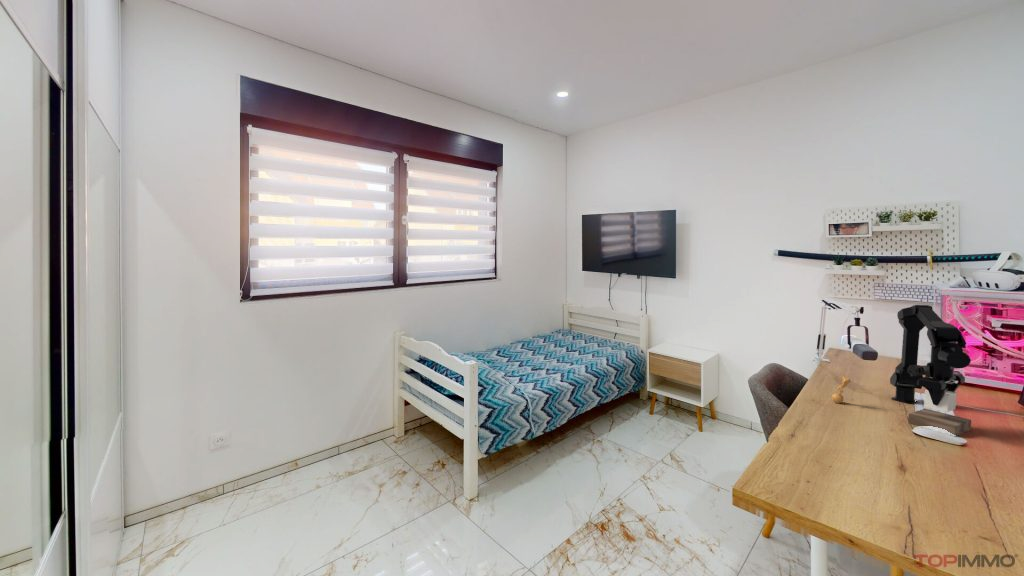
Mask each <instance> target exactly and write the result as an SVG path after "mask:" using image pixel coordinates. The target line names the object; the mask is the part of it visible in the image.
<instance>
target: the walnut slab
mask: <svg viewBox="0 0 1024 576" xmlns="http://www.w3.org/2000/svg"><path fill="white" fill-rule="evenodd" d="M907 418H908V420H907V423H908V424H910V425H913V426H916V427H919V426H933V427H938V428H942V429H945V430H947V431H948V432H950V433H952V434H954V435H957V436H959V435H962V434H964V433H966V432H969V431H971V429H972V420H971V419H969V418H965V417H960V416H956V415H953V414H949V413H946V412H942V411H941V412H940V411H938V410H937V411H936V410H933V409H930V408H922V409H919V410H915V411H913V412H911V413H908V417H907Z"/></svg>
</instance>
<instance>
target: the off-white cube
mask: <svg viewBox="0 0 1024 576" xmlns="http://www.w3.org/2000/svg"><path fill="white" fill-rule="evenodd" d="M923 399H924V401H923V402H924V403H923V407H925V408H928V409H932V410H933V409H934V410H937V411H941V412H944V413H948V412H951V411H954V410H956V406H957V405H956V403H957V392H956V391H955V392H951V391H946V393H945V395H944V396H943V398H942V400H941V401H940V403H939V404H938V405H934V404H933V402H932V399H931V396H930V394H929V391H928V390H927V389H924V398H923Z"/></svg>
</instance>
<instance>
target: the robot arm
mask: <svg viewBox="0 0 1024 576" xmlns="http://www.w3.org/2000/svg"><path fill="white" fill-rule="evenodd" d="M896 316H897V319H898V324H899V325H900V326H901V327H902V329H903V331H902V332H903V333H902V345H901V346H902V347H901V359H900V360H901V361H900V363H899V364H897V366H896V367H895V369H894V372H893V373H892V375H891V376H890V378H889V382H890V385H892V386H893V387H894V388H895V396H894V397H893V396H892V397H891V400H894V401H898V402H902V403H906V404H911V405H912V404H915V403H916V402H915V400H916V399H915V397H916V394H915V391H916V389H917V390H918V389H919V390H922V388H924V389H925V390H928V391H929V394H930V396H931V399H932V402H933V404H934V405H938V404H939V403H940V401H941V400H942V398H943V396H944V395H945V393H946V391H951V392H956V391H957V390H958V389H959V387H961V385H962V384H964V383H965V382H966V376H964V375H963V374H960V373H956V372H955V369H964V368H966V367H968V366H969V365H970V364H971V360H972V359H971V357H970V356H969V355H968V353H966V352H963V351H964V349H967V348H966V345H967V342H966V340H965V338H964V336H963V334H962V331H961V330H960V329H959V328H958V327H957V326H955V325H954V324H952V323H948V322H945V321H944V320H943V319H942V318H941V317H940V316H939V315H938V314H937V313H936V312H935V310H934V309H933V306H932V305H929V304H914V305H912V306H909V307H904V308H902V309H900V310H898V311H897V315H896ZM924 328H926V329H927V331H926V336H927V339H928V340H929V342H930V344H929V345H930V348H931V349H930V361H929V362H927V363H926V365H918V360H919V359H918V357H919V345H920V344H919V343H920V334H921V333H920V332H921V331H922V330H923V329H924ZM956 382H957V383H956Z"/></svg>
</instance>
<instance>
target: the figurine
mask: <svg viewBox="0 0 1024 576" xmlns="http://www.w3.org/2000/svg"><path fill="white" fill-rule="evenodd" d="M841 379H842V380H841V384H839V386H838V387H837V390H838V391H839V392H837V393H833V394H831V400H832V401H833V402H834V403H836V404H837V403H838V404H840V403H843V402H844V400H845V399H844V396H843V394H842V393H844V390H843V389H844V388H846V387H847V385H849V384H850V383H851V379H850V378H848V377H847V376H845V375H843V376H841Z"/></svg>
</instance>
